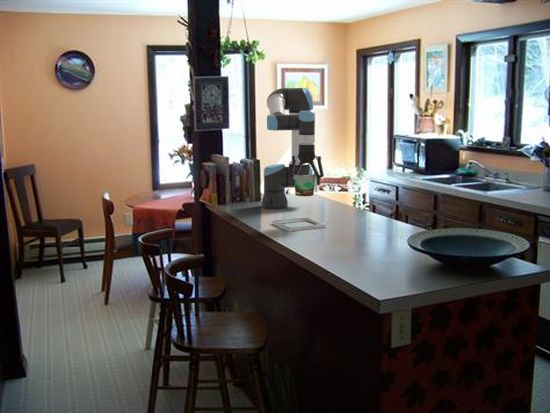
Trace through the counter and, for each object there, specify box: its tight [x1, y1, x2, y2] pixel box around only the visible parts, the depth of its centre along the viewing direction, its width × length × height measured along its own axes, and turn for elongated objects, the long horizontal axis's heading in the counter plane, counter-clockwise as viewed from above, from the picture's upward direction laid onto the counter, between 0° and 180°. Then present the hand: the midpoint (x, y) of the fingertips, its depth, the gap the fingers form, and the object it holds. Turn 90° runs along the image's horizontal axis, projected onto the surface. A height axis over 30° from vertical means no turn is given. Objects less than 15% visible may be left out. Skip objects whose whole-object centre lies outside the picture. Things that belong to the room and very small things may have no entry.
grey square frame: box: [271, 216, 327, 232], centre depth 285 cm, size 18×20×2 cm
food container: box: [293, 172, 317, 197], centre depth 285 cm, size 12×6×10 cm, turn 123°
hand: (306, 191), depth 286 cm, fingers closed on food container, 9 cm apart
